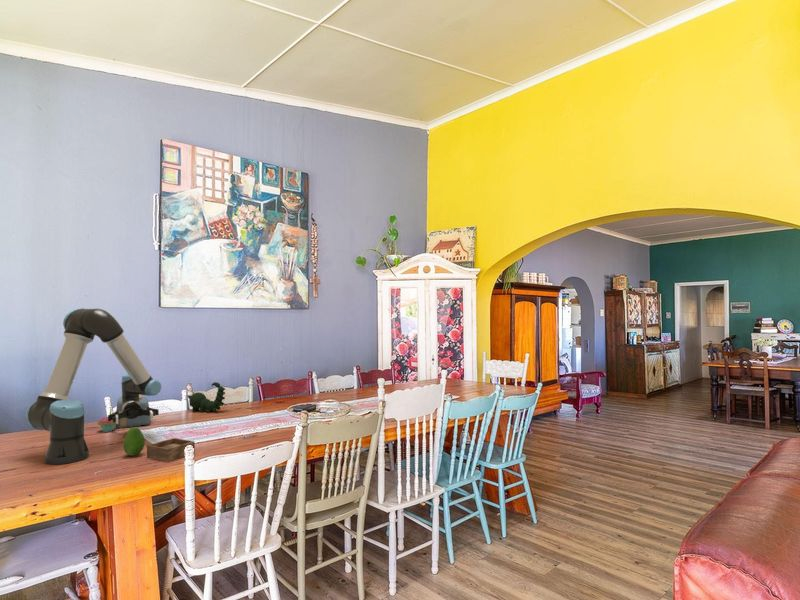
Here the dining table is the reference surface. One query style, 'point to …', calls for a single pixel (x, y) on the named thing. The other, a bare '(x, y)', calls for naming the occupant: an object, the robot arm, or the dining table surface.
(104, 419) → the cupcake
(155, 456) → the walnut stand
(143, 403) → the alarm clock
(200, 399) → the toy figurine
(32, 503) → the dining table surface
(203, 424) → the dining table surface
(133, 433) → the avocado
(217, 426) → the dining table surface
